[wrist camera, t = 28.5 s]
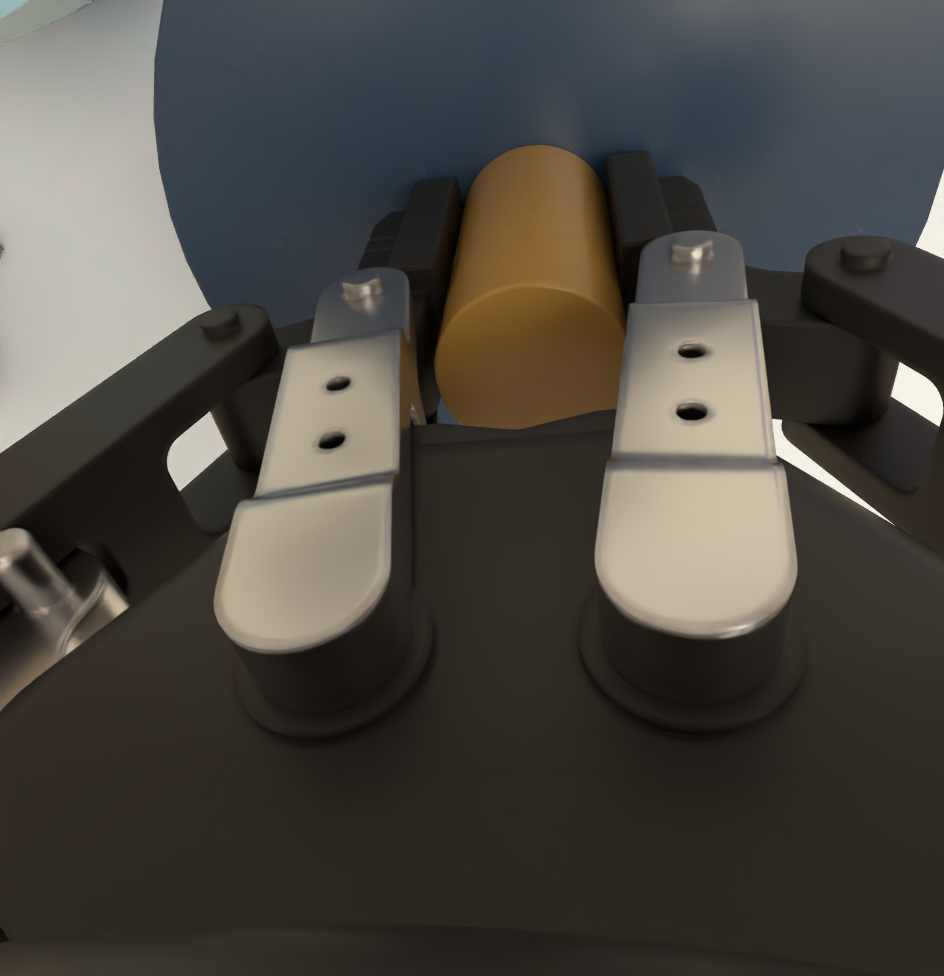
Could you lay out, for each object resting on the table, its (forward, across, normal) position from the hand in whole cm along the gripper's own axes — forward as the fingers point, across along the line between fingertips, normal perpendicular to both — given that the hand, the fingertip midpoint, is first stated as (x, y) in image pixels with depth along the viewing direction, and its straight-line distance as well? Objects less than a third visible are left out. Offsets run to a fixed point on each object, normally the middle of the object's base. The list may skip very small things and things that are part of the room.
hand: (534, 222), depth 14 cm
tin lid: (+1, 0, 0) cm, 1 cm away
